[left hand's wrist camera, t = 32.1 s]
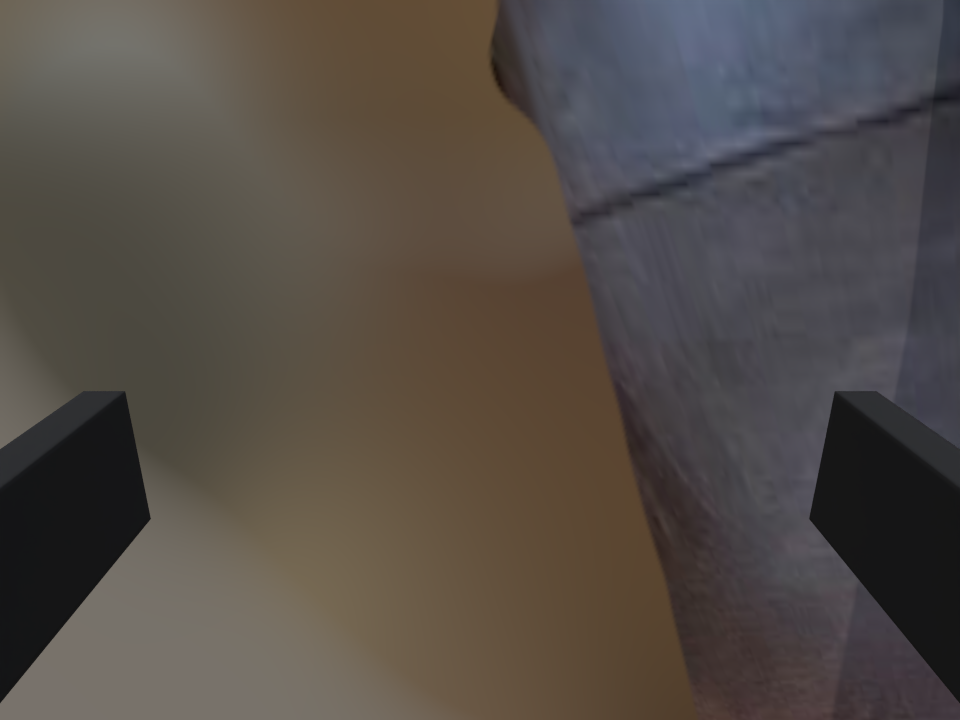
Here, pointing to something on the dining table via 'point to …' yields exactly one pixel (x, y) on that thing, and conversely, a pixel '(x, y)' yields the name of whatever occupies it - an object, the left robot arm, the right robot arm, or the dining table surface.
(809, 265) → the dining table surface
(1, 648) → the left robot arm
